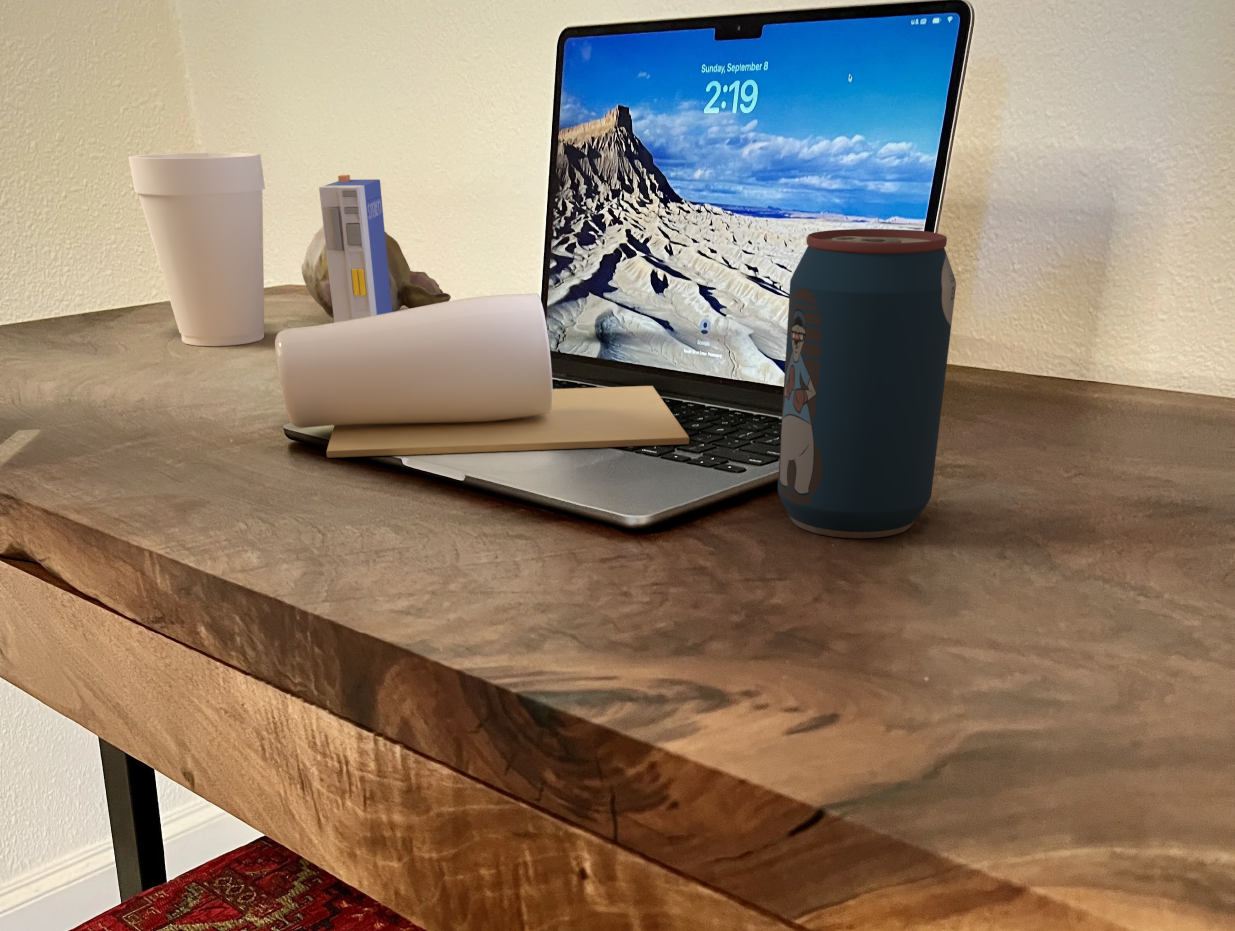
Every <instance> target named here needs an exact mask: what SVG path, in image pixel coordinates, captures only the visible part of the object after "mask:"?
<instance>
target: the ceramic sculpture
mask: <svg viewBox="0 0 1235 931" xmlns="http://www.w3.org/2000/svg"><path fill="white" fill-rule="evenodd" d="M385 240H386V251H387V262H388V273H389V284H390V295H391V306H392V312H395V311H400V309H401V308H402V307H404V306H405V307H406V308H407V309H410V308H416V307H421V306H426V305H431V304H437V303H442V302H448V301H451V298H452V295H450V294H449V293H447V292H444V291H443V290H442V289H441V288H440V285H439V283H437V281H436V279H433V278H432V277H430V276H429V275H428V274H427V273H426V272H425V271H413V270H411V268H410V265H409V263H408V261H407V259H406V257H405V255H404V253H403V251H402V248H401V246H400V244H399V243H398V241H397V240H396V239H395V238H394V237H392V236H391V235H389V234H388V232H387V231H385ZM300 269H301V275H302V278H303V281H304V284H305V286H306V288H307V290H308V292H309V294H310V296H311V298H313V300H314V301H315V302H316V303H317V304H318V305H319V306H320V307H321V308H323V310H324V311H325V313H326V314H327V315H328V316H329V317H330V318H332V319H334V315H333V306H332V298H331V289H330V280H329V271H328V263H327V254H326V245H325V236H324V227H323V226H322V227H320V228H319V229H318V231H316V232H315V234H314V235H313V237H312V239H311V241H310V242H309V244H308V246H307V249H306V252H305V256H304V260H303V262H302V264H301V268H300Z"/></svg>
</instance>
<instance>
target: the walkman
mask: <svg viewBox="0 0 1235 931" xmlns="http://www.w3.org/2000/svg"><path fill="white" fill-rule="evenodd" d="M337 179H338V180H337V181H335V182H331V183H328V184H325V185H322V186H319V187H318V191H319V200H320V208H321V215H322V218H321V219H322V227H324V236H325V245H326V254H327V263H328V271H329V280H330V289H331V298H332V306H333V315H334V318H333V323H335V322H340V321H346V320H351V319H357V318H362V317H368V316H373V315H379V314H384V313H389V312H392V306H391V295H390V284H389V273H388V262H387V251H386V240H385V232H386V230H385V219H384V209H383V208H384V207H383V198H382V188H381V187H382V186H381V179H378V178H377V179H375V178H374V179H373V178H372V179H351V175H350V174H340V175H337Z"/></svg>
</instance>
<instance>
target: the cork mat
mask: <svg viewBox="0 0 1235 931" xmlns="http://www.w3.org/2000/svg"><path fill="white" fill-rule="evenodd" d="M679 445H690V437H689V435H688V434H687V432H686V431H685V429H684V428H683V427H682V426H681V424H680V422H679V421H678V420H677V418H676V417H675V416H674V414H673V412H671V410H670V408H669V407H668V406H667V404H666V403H665V402H664V400H663V398H662V397H661V396H660V394H659V393H658V391H657V390H656V389H655V387H654V386H653V385H638V386H637V385H635V386H633V385H632V386H605V387H604V386H603V387H575V388H553V403H552V410H551V412H550V413H549V414H543V415H537V416H531V417H524V418H517V419H509V420H500V421H488V422H467V423H411V424H363V425H333V428H332V430H331V435H330V438H329V442H328V445H327V449H326V457H327V459H332V458H336V459H337V458H356V457H357V458H359V457H360V458H361V457H362V458H363V457H384V456H385V457H386V456H388V457H389V456H410V455H412V456H413V455H414V456H416V455H438V454H439V455H442V454H467V453H493V452H517V451H518V452H519V451H546V450H570V449H572V450H573V449H599V448H625V447H650V446H651V447H653V446H679Z"/></svg>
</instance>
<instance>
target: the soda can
mask: <svg viewBox="0 0 1235 931" xmlns="http://www.w3.org/2000/svg"><path fill="white" fill-rule="evenodd" d="M947 242H948V237H947V236H946V235H945V234H941V233H937V232H932V231H926V230H919V229H918V230H917V229H897V228H896V229H895V228H894V229H893V228H850V229H831V230H829V229H828V230H821V231H814V232H812V233H809V234H808V235H807V236H806V245H807V247H806V249H805V251H804V252H803V254H802V257H801V258H800V261H799V262H798V264H797V266H796V268H795V270H794V272H793V273H792V276H791V278H790V281H789V295H788V296H789V297H788V309H787V310H788V311H787V329H786V342H785V343H786V345H785V362H784V377H783V392H782V394H783V395H782V396H783V397H782V412H781V426H780V428H781V430H780V444H779V460H778V461H779V462H778V463H779V464H778V477H777V492H778V495H779V498H780V500H781V503H782V504H783V507H784V508H785V510H786V512H787V515H788V516H789V518H790V520H791V521H792V523H793V524H794V525H795V526H797V527H798V528H800V529H802V530H805V531H807V532H809V533H813V534H817V535H821V536H828V537H835V538H842V539H843V538H844V539H845V538H846V539H876V538H884V537H890V536H895V535H898V534H901V533H903V532H905V531H907V530H909V529H910V528H911V527H912V526H913V525H914V523H915V521H916V520H917V519H918V518H919V516H920V515H921V514H922V512H923V511H924V509H925V508H926V506H927V505H928V503H929V502H930V500H931V498H932V493H933V484H934V476H935V469H936V468H935V466H936V459H937V451H938V450H937V449H938V443H939V442H938V440H939V434H940V425H941V417H942V408H943V400H944V393H945V392H944V390H945V382H946V376H947V375H946V374H947V366H948V357H949V349H950V348H949V347H950V341H951V331H952V322H953V315H954V307H955V298H956V297H955V296H956V288H957V281H956V277H955V275H954V272H953V269H952V266H951V265H952V264H951V262H950V260H949V257H948V254H947V251H946V249H945V247H946V246H947Z"/></svg>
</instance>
